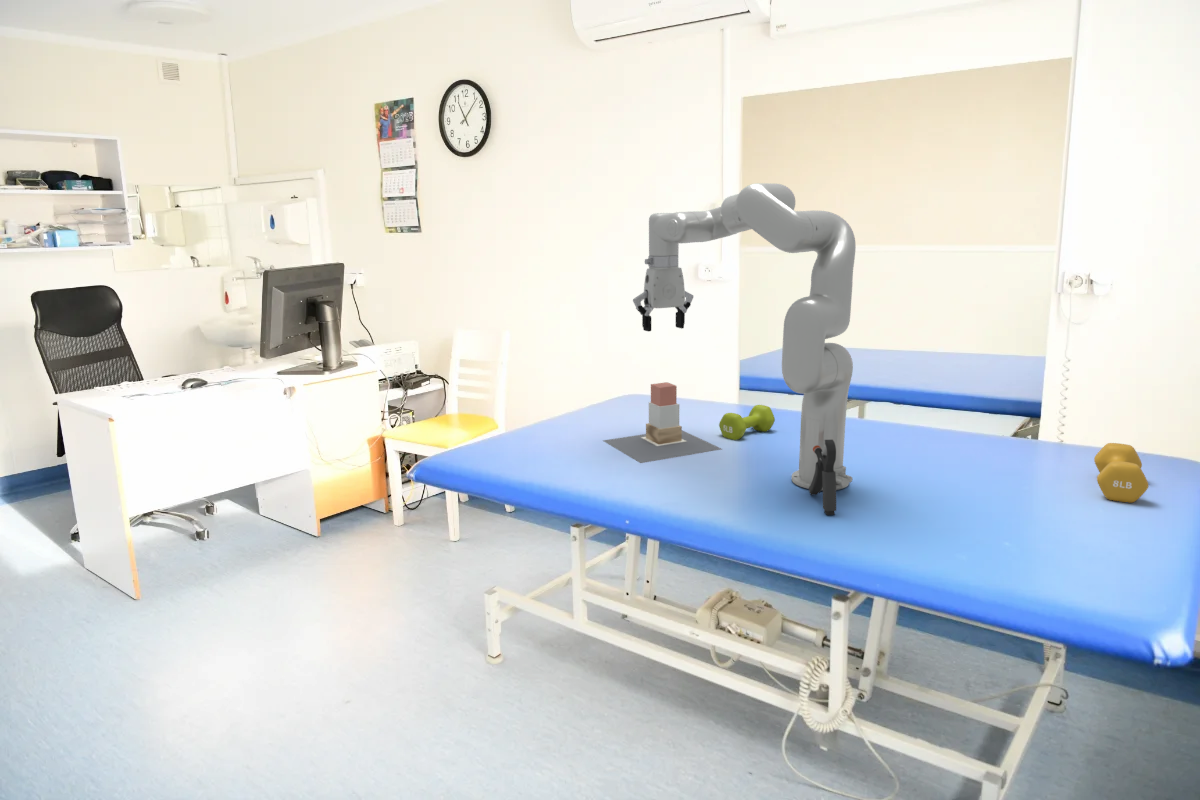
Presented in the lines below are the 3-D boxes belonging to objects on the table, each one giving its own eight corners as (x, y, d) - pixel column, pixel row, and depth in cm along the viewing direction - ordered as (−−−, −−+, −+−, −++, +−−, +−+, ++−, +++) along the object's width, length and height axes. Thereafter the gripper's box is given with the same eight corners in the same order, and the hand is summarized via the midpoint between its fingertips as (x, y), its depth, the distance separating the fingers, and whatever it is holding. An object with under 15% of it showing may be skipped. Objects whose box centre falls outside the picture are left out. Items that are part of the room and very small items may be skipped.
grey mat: (723, 450, 200) (723, 449, 199) (640, 464, 190) (640, 463, 190) (679, 430, 219) (679, 428, 219) (602, 442, 209) (602, 440, 209)
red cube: (676, 404, 205) (676, 385, 204) (659, 406, 203) (659, 387, 202) (667, 400, 210) (667, 382, 209) (650, 402, 208) (650, 384, 207)
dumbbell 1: (738, 444, 206) (739, 417, 204) (715, 437, 212) (716, 412, 210) (777, 432, 216) (778, 407, 214) (754, 426, 222) (755, 402, 220)
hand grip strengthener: (817, 494, 168) (820, 427, 165) (836, 516, 156) (840, 444, 153) (807, 494, 168) (810, 427, 165) (825, 516, 156) (829, 445, 153)
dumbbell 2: (1091, 473, 178) (1096, 439, 176) (1139, 479, 174) (1144, 444, 172) (1093, 500, 162) (1099, 462, 160) (1146, 507, 158) (1152, 469, 156)
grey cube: (679, 426, 207) (679, 404, 205) (659, 429, 204) (659, 407, 203) (668, 421, 212) (668, 399, 211) (648, 423, 210) (648, 402, 208)
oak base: (681, 440, 207) (681, 426, 206) (658, 444, 205) (658, 429, 204) (668, 434, 214) (668, 420, 213) (646, 437, 211) (645, 423, 210)
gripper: (640, 265, 191) (641, 333, 195) (700, 261, 198) (699, 328, 202) (626, 263, 198) (627, 330, 202) (685, 260, 205) (684, 325, 209)
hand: (663, 329), depth 202 cm, fingers open, 9 cm apart
